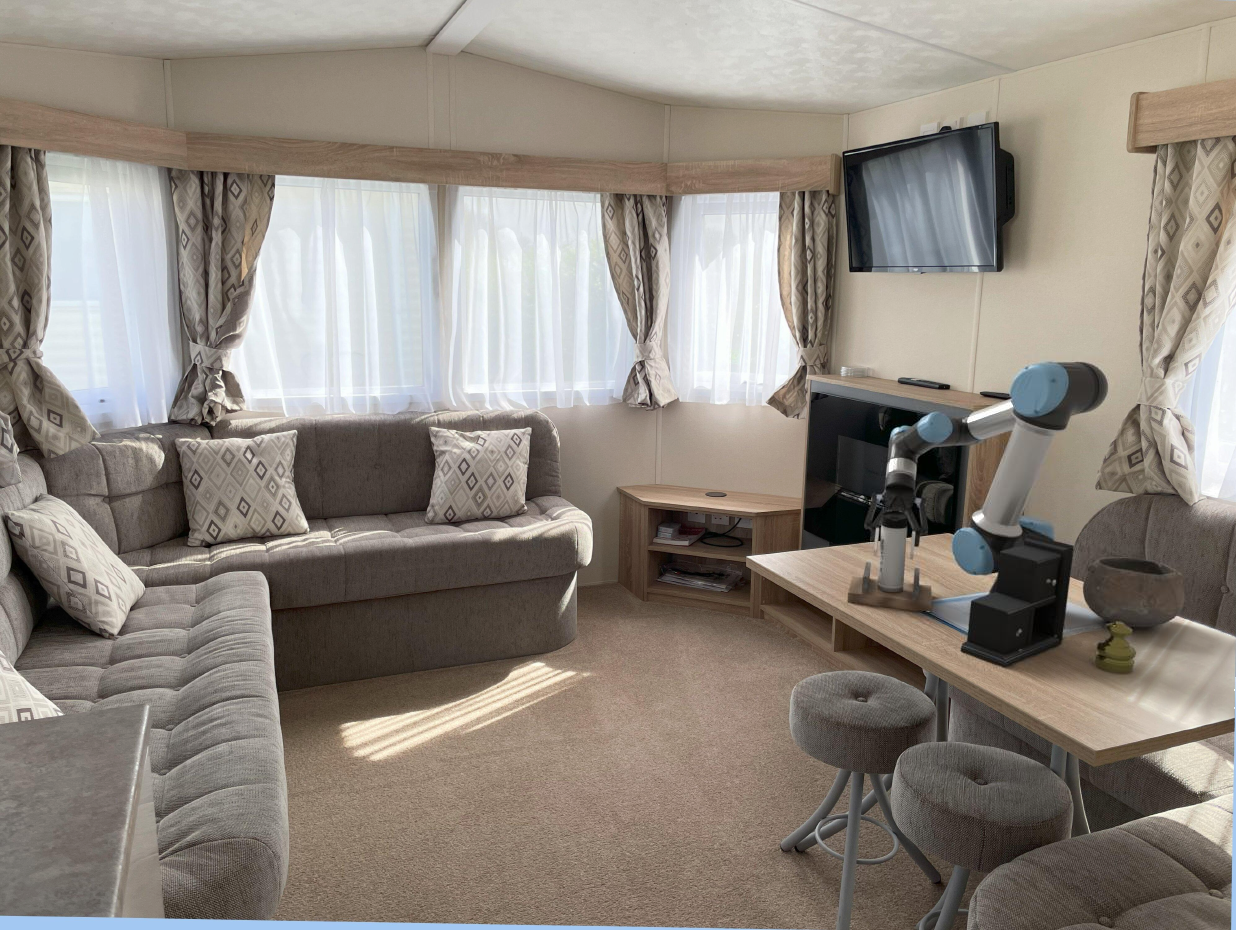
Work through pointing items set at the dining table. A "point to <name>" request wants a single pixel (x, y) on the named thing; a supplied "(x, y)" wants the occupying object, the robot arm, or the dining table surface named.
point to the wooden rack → (907, 599)
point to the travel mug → (892, 551)
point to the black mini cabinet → (1022, 604)
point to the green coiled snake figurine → (1116, 650)
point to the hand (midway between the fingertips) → (893, 554)
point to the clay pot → (1133, 591)
